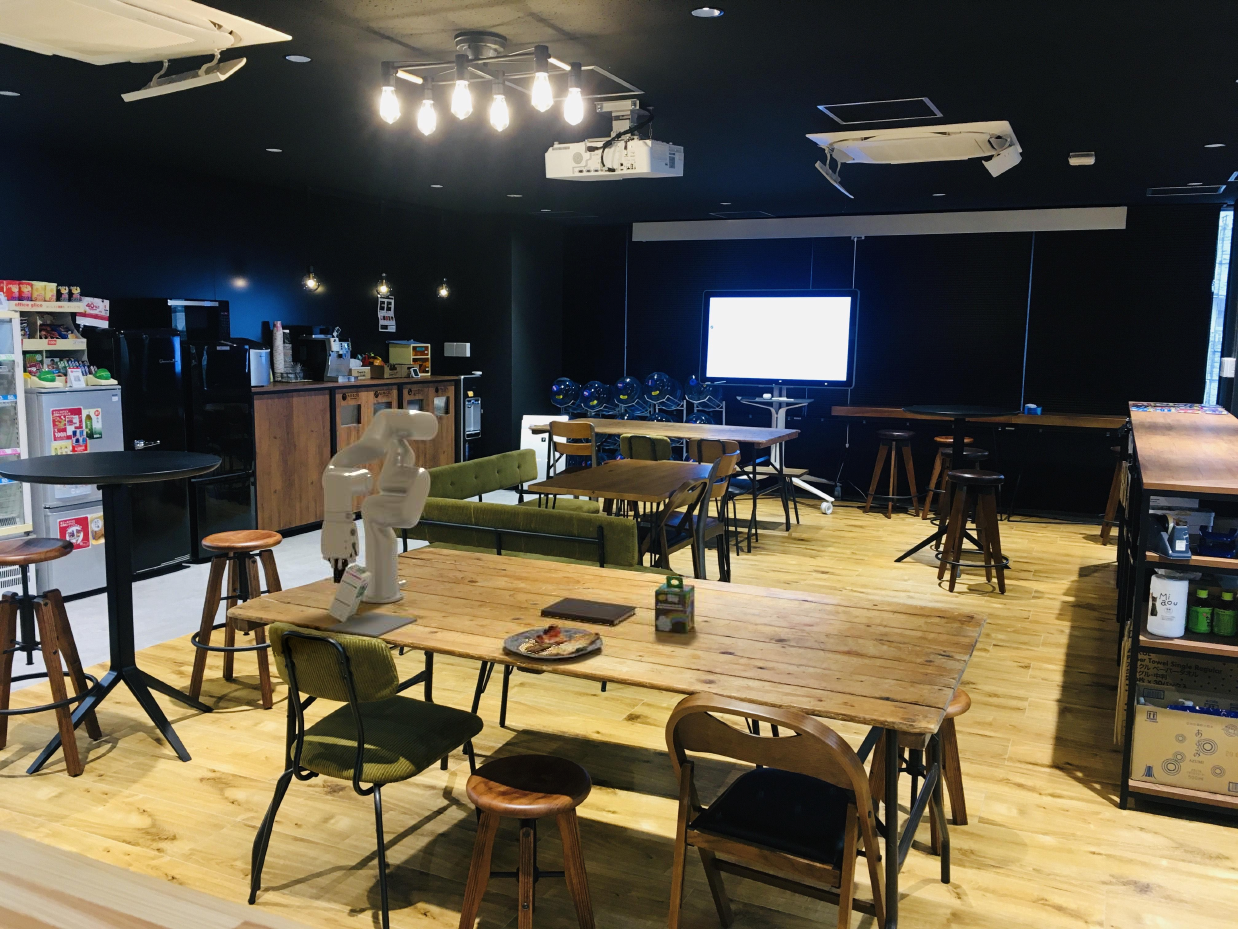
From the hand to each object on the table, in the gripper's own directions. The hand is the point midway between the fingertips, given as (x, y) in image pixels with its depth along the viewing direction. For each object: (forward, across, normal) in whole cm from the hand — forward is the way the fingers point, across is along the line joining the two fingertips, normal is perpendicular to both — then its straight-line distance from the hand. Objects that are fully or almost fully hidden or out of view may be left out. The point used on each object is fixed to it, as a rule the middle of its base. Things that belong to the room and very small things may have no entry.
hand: (339, 582), depth 268 cm
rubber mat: (+11, -11, 0) cm, 15 cm away
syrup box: (+10, 0, 0) cm, 10 cm away
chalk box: (+11, -85, -36) cm, 93 cm away
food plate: (+11, -65, -5) cm, 66 cm away
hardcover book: (+11, -58, -38) cm, 70 cm away
